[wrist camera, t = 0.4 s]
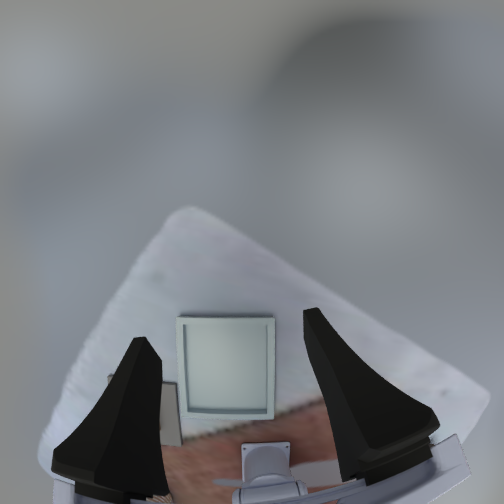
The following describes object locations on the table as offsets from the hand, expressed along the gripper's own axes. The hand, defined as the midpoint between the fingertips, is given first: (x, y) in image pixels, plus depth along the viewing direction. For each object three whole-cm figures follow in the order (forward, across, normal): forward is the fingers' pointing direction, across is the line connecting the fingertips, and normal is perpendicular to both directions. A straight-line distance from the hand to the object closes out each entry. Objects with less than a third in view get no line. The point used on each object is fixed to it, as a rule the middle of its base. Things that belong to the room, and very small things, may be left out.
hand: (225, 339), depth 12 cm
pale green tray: (+15, +5, +26) cm, 31 cm away
